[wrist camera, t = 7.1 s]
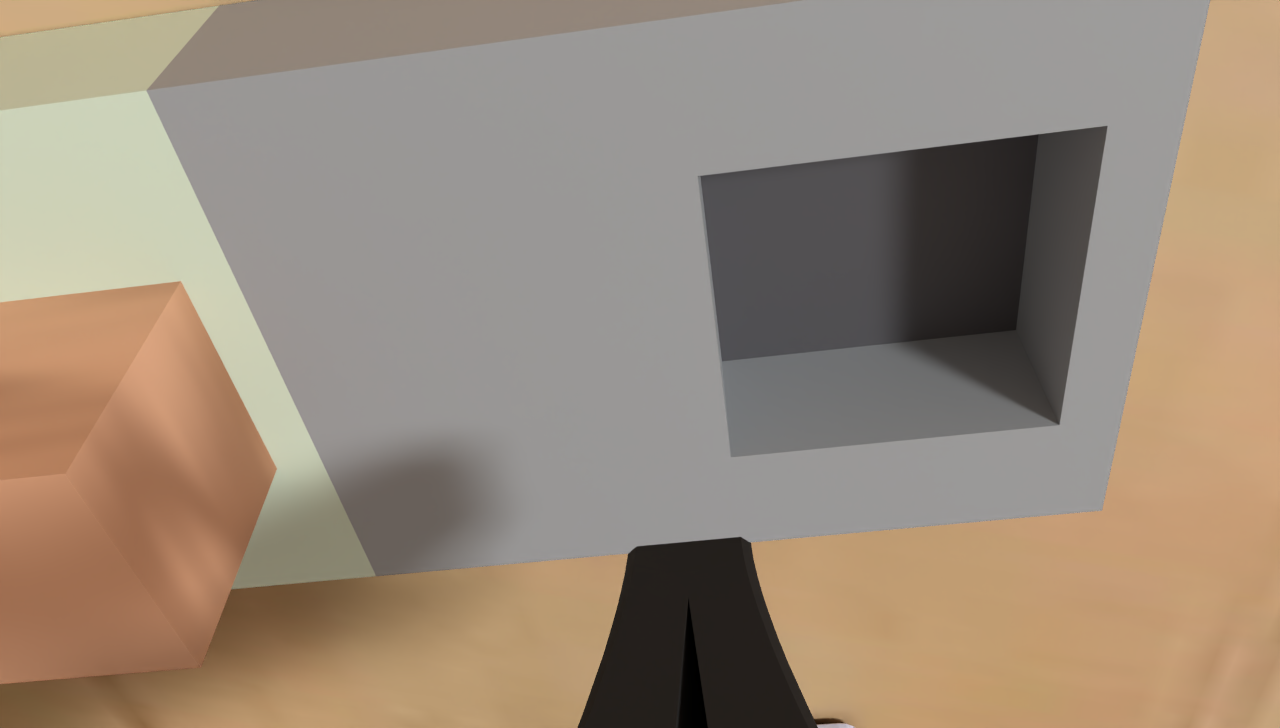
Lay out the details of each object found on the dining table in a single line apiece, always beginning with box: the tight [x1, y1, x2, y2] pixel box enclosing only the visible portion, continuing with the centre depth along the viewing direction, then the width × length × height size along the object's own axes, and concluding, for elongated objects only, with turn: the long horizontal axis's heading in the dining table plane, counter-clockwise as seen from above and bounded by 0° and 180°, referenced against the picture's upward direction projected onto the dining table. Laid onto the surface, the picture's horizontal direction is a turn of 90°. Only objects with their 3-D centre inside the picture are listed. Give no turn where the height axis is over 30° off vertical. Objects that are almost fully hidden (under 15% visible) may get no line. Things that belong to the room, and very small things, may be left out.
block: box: [0, 281, 277, 684], centre depth 15 cm, size 4×4×4 cm
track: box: [0, 0, 1210, 589], centre depth 18 cm, size 10×26×3 cm, turn 98°
